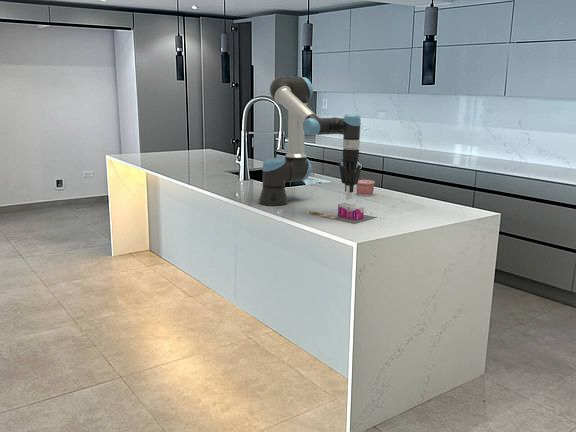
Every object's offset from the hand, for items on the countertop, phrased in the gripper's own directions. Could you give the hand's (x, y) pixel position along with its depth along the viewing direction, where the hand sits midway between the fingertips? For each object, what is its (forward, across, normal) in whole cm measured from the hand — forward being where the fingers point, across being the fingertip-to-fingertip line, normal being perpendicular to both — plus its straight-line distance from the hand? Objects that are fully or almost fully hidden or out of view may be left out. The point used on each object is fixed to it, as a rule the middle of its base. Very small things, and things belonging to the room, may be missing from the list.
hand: (348, 198), depth 261 cm
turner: (+9, -9, -8) cm, 14 cm away
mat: (+9, +4, 0) cm, 10 cm away
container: (+9, -27, +53) cm, 60 cm away
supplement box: (+6, -4, 0) cm, 7 cm away
